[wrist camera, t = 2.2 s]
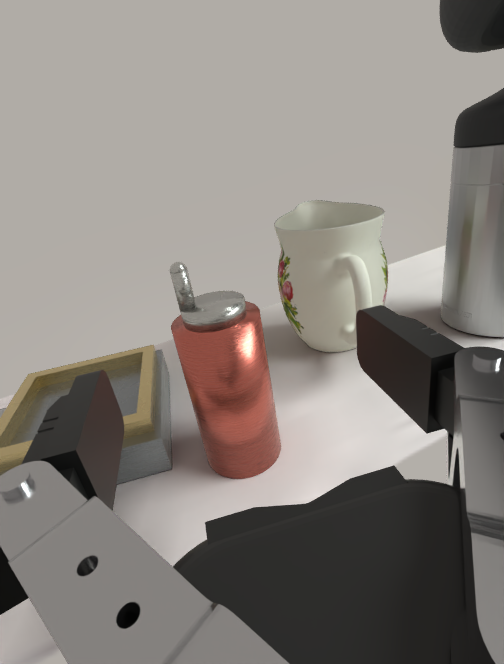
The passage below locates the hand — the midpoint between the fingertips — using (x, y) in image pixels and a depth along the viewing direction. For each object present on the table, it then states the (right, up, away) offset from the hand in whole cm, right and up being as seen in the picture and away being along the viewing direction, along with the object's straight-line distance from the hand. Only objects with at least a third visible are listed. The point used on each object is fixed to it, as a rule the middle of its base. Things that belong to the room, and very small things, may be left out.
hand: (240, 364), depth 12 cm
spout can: (0, -8, +16) cm, 18 cm away
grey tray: (-15, -8, +21) cm, 27 cm away
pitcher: (+10, 0, +29) cm, 30 cm away
